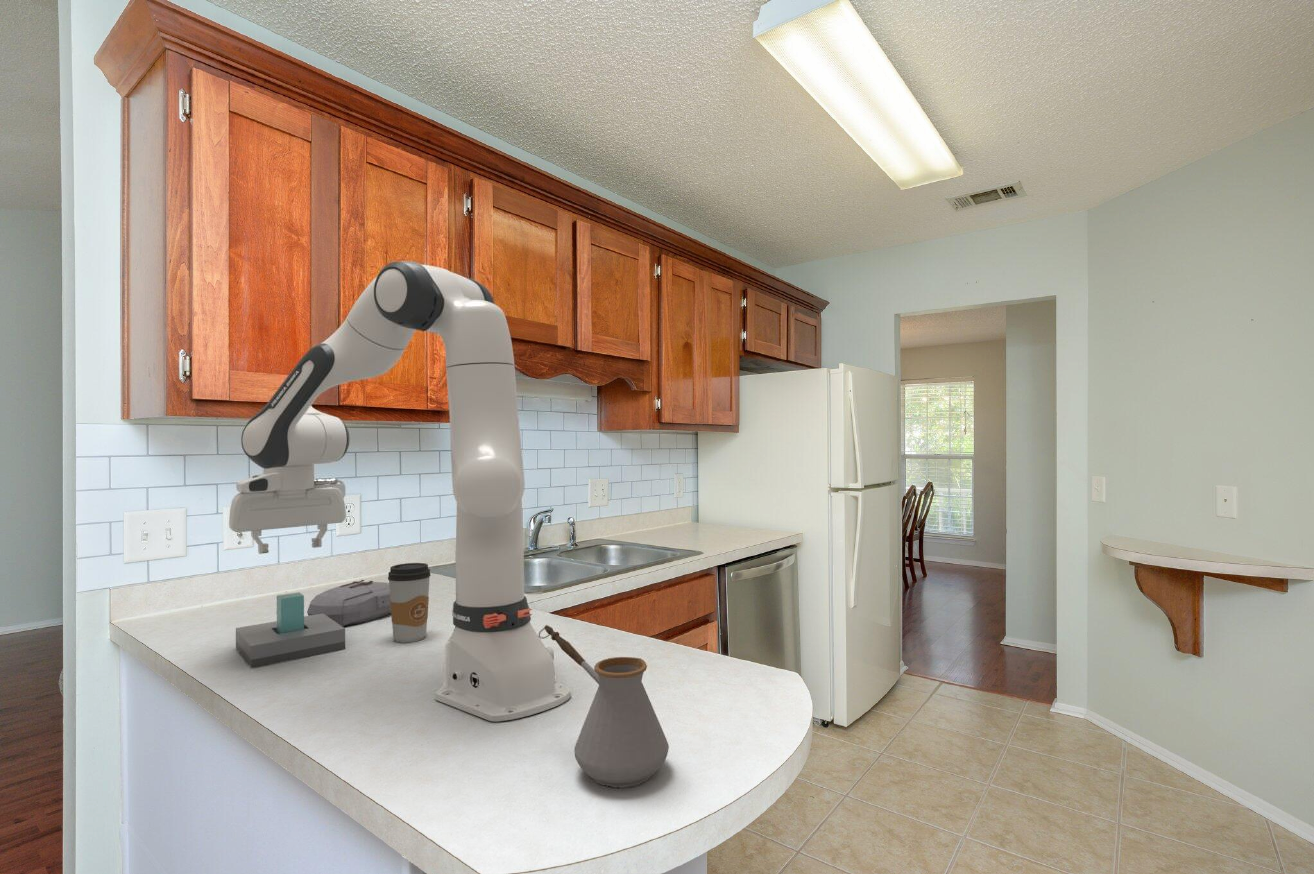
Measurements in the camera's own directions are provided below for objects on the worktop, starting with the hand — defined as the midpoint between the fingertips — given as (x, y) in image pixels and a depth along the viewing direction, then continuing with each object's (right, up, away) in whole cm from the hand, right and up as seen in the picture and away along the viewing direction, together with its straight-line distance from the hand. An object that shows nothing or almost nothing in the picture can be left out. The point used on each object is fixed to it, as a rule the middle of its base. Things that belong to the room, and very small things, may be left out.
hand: (290, 550), depth 129 cm
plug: (0, -18, 0) cm, 18 cm away
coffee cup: (+22, -20, +5) cm, 30 cm away
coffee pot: (+65, -18, -47) cm, 82 cm away
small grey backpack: (+2, -20, +22) cm, 30 cm away
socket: (0, -20, 0) cm, 20 cm away
